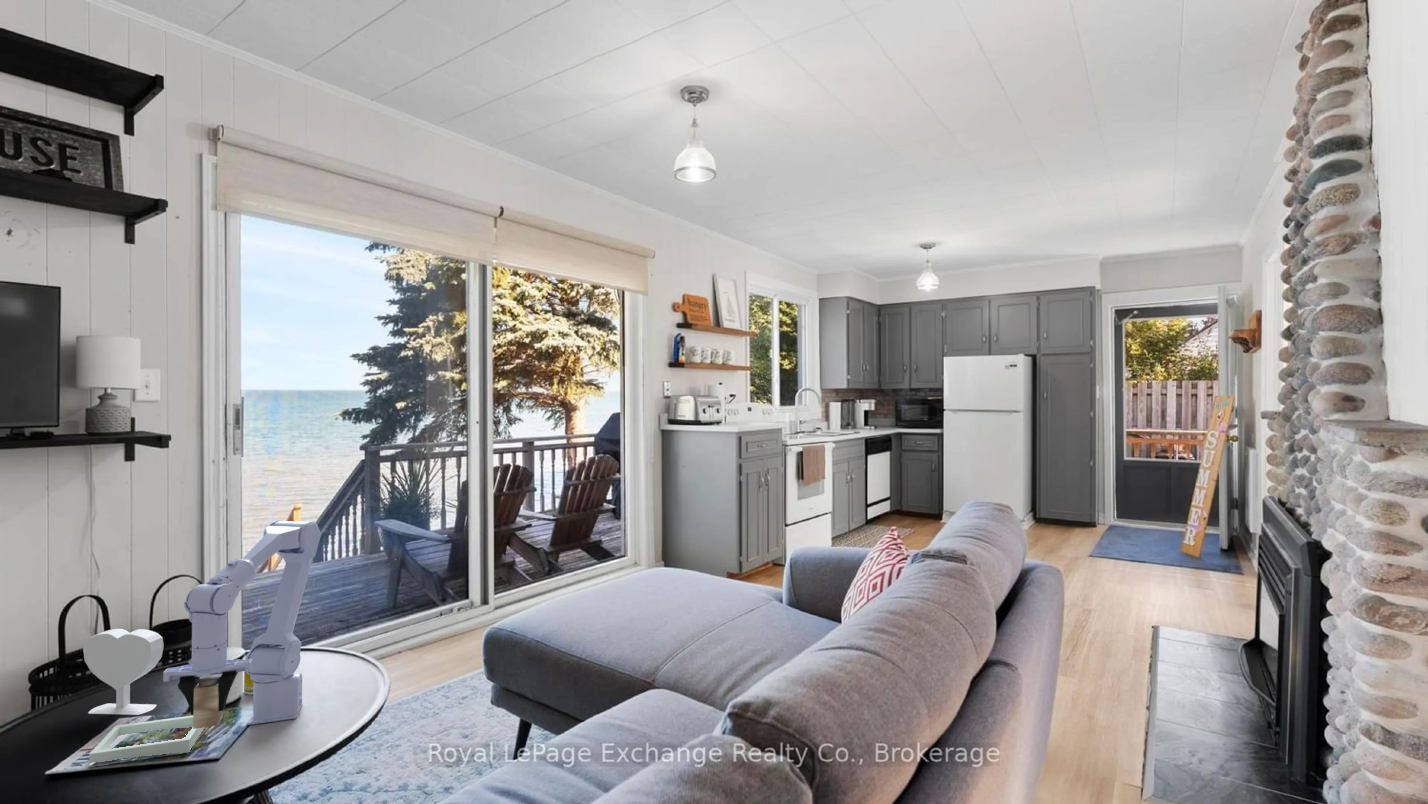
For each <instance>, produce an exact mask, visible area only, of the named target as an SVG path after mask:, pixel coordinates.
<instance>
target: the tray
mask: <svg viewBox="0 0 1428 804" xmlns="http://www.w3.org/2000/svg"><path fill="white" fill-rule="evenodd" d="M189 727H192V729H191V730H190V731H188V734H187V735H186V734H185V735H186V737H184V738H182V739H175V740H168V741H161V742H154V743H147V744H140V745H133V746H126V747H119V748H113V749H107V748H108V747H109V746H110V745H111V744H112V743H113V742H114V741H115V739H116V738H117V737H118V736H119V735H125V734H131V733H140V732H147V731H153V730H162V729H172V728H189ZM204 728H205V727H203V728H196V729H193V715H185V716H179V717H171V718H170V717H169V718H164V719H156V720H148V721H142V722H141V721H140V722H133V723H132V722H131V723H125V724H119V725H115V726H113V728H112V729H110V731H109V732H108V733H107V734H106V735H105V736H104V738H103V739H102V740H101V741H100V742H99V743H98V744H97V745H96V746H95V747H94V749H92V750H91V751H90V753H89V754H88V764H89V763H92V762H105V761H112V760H117V759H122V758H131V757H139V756H140V757H141V756H152V755H162V754H170V753H178V752H190V753H191V751H192V750H191V748H192V746H193V745H194V744H195V742H196V740H197V739H198V737H199V735H200V734H201V732H202V731H203V729H204ZM205 729H206V728H205ZM203 732H204V731H203ZM201 735H202V734H201ZM198 740H199V739H198ZM196 743H197V742H196ZM195 745H196V744H195ZM195 745H194V746H195ZM192 749H193V748H192ZM190 750H191V751H190Z"/></svg>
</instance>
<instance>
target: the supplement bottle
mask: <svg viewBox="0 0 1428 804" xmlns="http://www.w3.org/2000/svg"><path fill="white" fill-rule="evenodd" d="M243 672H244V671H243ZM243 694H245V695H253V680H252V679H250V675H249V674H247V673H246V672H244V675H243Z"/></svg>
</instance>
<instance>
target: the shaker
mask: <svg viewBox="0 0 1428 804" xmlns="http://www.w3.org/2000/svg"><path fill="white" fill-rule="evenodd" d="M220 676H221V675H220V674H216V675H209V676H202V677H200V679H199V683H198V684H197V685H196V687H195V688H194V712H193V729H196V728H203V727H206V728H209V727H216V726H217V727H218V726H219V724H220V723H221V720H222V719H223V717H224V710H223V711H219V696H220V695H219V684H218V679H219V678H220Z"/></svg>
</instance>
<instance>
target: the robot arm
mask: <svg viewBox="0 0 1428 804" xmlns="http://www.w3.org/2000/svg"><path fill="white" fill-rule="evenodd" d="M321 536H322V532H321V530H320V528H319V525H318V524H317V522H316V521H294V520H293V521H291V520H289V521H288V520H281V519H276V520H273V521H271V522H270V524H269V525H268V526H266V527H265V528H264V531H263V537H261V539H260V540H258V542H257V543H256V544H255V545H254V546H253V547H252V548H251V549H250V550H249V551H248V552H247V553H246V555H244V556H243V558H235V559H231V560H229V561H228V562H226V565H225V566H224V567H223V568H222V569H221V570H220V571H218V572H217V573H216V574H215V575H214V576H213V577H211V578H210V579H209V580H208V581H207V582H206V583H202V584H198V585H196V586H195V587H193V588H191V590H190V591H189V592H188V594H187V596H186V599H185V601H183V607H184V609H185V611H186V612H187V613H188V621H189V622H190V623H191V663H190V664H185V665H180V666H175V667H167V668H166V669H165V670H164V671H163V674H162V678H163V679H162V681H163V683H165V682H170V681H171V680H179V681H178V684H177V687H178V688H177V689H178V690H179V691H180V692H181V693H182V695H183V696H184V698H185V700H186V702H187V704H188V707H189V711H190V716H192V715H193V712H194V688H195V687H196V685H197V684H198V683H199V679H200V678H202V677H205V676H209V675H219V676H220V678H219V679H218V684H219V695H220V696H219V711H223V712H224V709H226V706H227V701H228V696H229V693H230V690H231V688H232V685H233V684H234V681H235V679H236V677H237V675H238V673H239V672H246V673H247V674H249V675H250V679H252V680H253V696H252V712H251V713H252V714H253V715H252V714H251V715H250V716H249V719H248V721H247V722H246V724H247V725H248V726H250V725H257V724H259V725H260V724H265V723H271V722H278V721H286V720H291V719H292V720H293V719H297V718H298V716H299V713H300V710H301V708H302V705H303V674H302V672H296V671H297V670H298V668H299V666H300V663H301V647H302V641H300V639H299V638H298V636H296V635H295V634H294V633H293V632H294V629H295V624H296V623H297V618H298V614H299V610H300V607H301V603H302V599H303V596H304V592H305V589H306V584H307V581H308V578H309V574H310V570H311V567H312V562H313V559H314V558H315V557H316V554H317V551H318V549H319V543H320V539H321ZM275 554H277V555H278V557H281V558H282V559H283V560H284V562H285V565H284V568H283V572H282V574H281V579H280V582H279V584H278V585H279V586H278V589H277V593H276V597H275V600H274V604H273V607H272V611H271V614H270V617H269V622H268V625H267V627H266V631H265V632H264V633H262V634H260V635H259V636H257V637H256V638H255V639H254V640H253V641H252V644H251V647H250V649H249V651H248V652H247V654H246V656H245V657H244V659H228V657H227V655H228V654H227V653H228V612H229V611H230V610H232V608H233V606H234V604H235V602H236V599H237V598H238V596H239V594H240V592H241V591H242V590H243V589H244V588H245V587H247V585H248V584H250V582H252V580H254V579H255V577H256V575H257V569H258V568H259V567H260V566H261V565H263V564H264V563H265V562H266V561H267V560H269V559H270V558H272V557H273V556H274V555H275ZM273 645H276V646H273ZM277 645H279V646H280V647H279V646H277ZM282 646H283V647H282Z"/></svg>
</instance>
